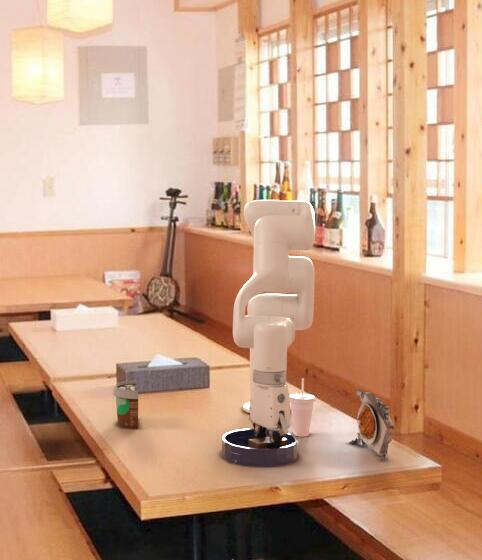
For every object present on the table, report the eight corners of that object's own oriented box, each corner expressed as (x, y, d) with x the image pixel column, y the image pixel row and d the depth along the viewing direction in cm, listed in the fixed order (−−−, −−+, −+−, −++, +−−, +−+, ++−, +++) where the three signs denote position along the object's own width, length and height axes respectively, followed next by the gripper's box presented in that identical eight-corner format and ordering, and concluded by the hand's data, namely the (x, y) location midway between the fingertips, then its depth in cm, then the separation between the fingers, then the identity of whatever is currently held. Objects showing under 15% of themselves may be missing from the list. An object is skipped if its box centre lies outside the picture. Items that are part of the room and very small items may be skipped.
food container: (112, 417, 273) (112, 380, 272) (136, 417, 274) (136, 380, 273) (113, 430, 261) (113, 391, 260) (138, 430, 262) (138, 390, 260)
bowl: (269, 441, 253) (269, 425, 253) (312, 460, 238) (312, 442, 238) (208, 450, 245) (208, 434, 244) (248, 470, 230) (249, 453, 229)
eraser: (277, 452, 242) (277, 435, 242) (287, 456, 239) (287, 439, 238) (248, 456, 238) (248, 439, 238) (257, 461, 235) (258, 443, 234)
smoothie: (316, 432, 261) (318, 377, 260) (311, 439, 255) (312, 382, 254) (291, 430, 263) (292, 375, 262) (285, 436, 257) (286, 380, 256)
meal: (346, 443, 252) (348, 390, 250) (362, 442, 253) (364, 389, 252) (377, 461, 238) (378, 405, 236) (393, 459, 239) (395, 403, 237)
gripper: (305, 382, 231) (303, 463, 233) (262, 368, 245) (261, 444, 247) (277, 386, 227) (275, 468, 229) (235, 371, 241) (234, 449, 244)
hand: (267, 455), depth 238 cm, fingers closed on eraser, 4 cm apart
